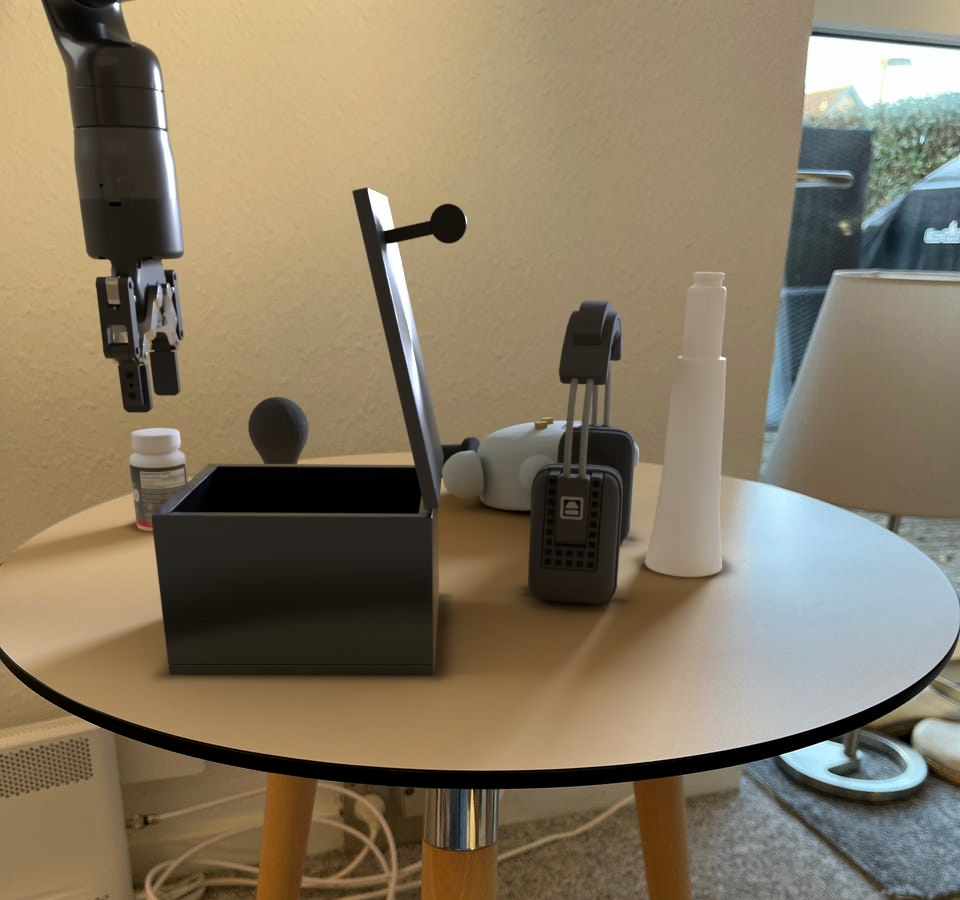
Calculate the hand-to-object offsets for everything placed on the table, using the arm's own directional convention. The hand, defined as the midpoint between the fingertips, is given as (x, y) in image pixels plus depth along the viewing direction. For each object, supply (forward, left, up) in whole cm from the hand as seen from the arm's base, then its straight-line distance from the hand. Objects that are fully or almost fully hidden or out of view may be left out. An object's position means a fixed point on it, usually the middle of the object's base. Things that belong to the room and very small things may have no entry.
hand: (153, 403), depth 86 cm
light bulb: (+9, +9, -11) cm, 17 cm away
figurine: (+33, +10, -11) cm, 36 cm away
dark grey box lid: (+23, -26, +8) cm, 35 cm away
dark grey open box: (+17, -26, -11) cm, 33 cm away
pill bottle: (0, 0, -11) cm, 11 cm away
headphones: (+36, -11, -11) cm, 39 cm away
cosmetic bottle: (+44, -11, -11) cm, 47 cm away
